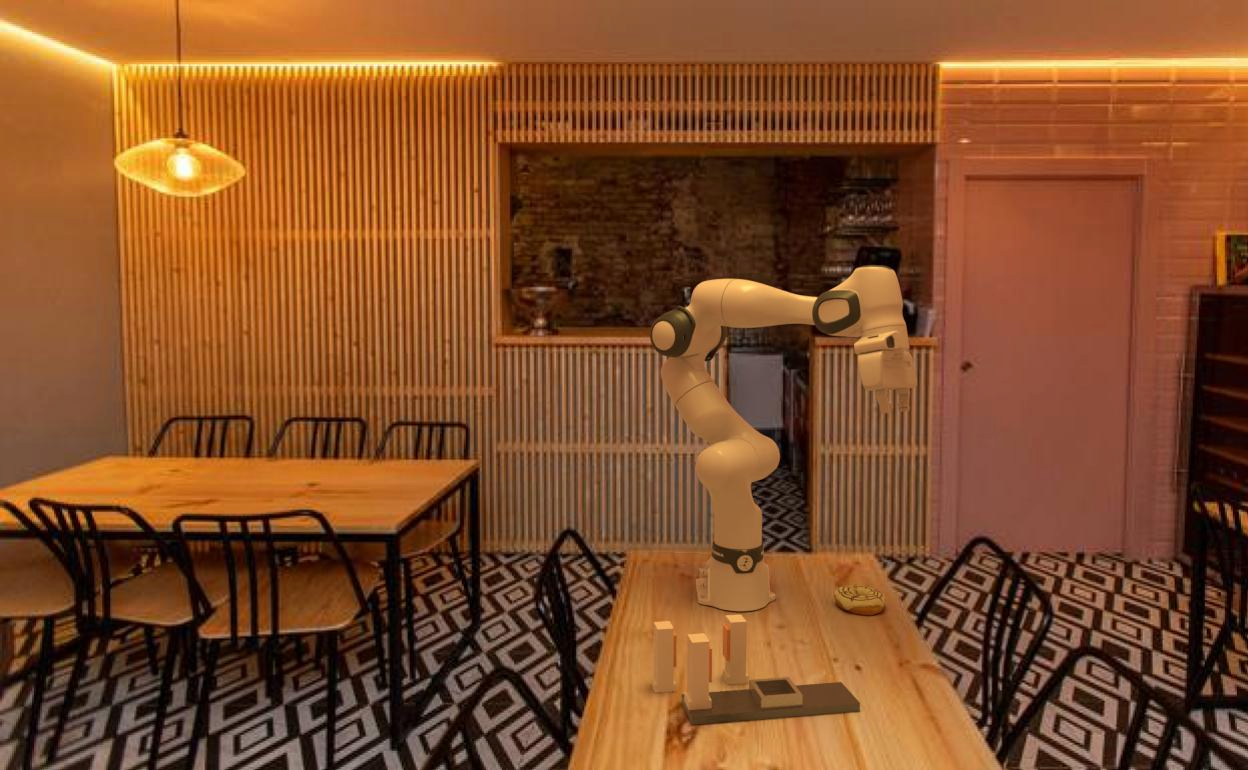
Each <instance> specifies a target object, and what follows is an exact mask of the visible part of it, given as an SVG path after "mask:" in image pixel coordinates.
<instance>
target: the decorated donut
mask: <svg viewBox="0 0 1248 770" xmlns="http://www.w3.org/2000/svg"><path fill="white" fill-rule="evenodd" d="M833 598H834V601H835V603H836V604H837V606H838V607H839V608H840V609H841V610H843V611H847V612H849V613H851V614H853V615H862V616H865V615H866V616H873V615H876V614H879V613H881V612H882V611H883V610H884V607H885V603H886V596H885V594H884V592H882V591H880V590H879V589H878V588H874V587H871V586H869V585H863V584H848V585H841V586H839V587H837V588H836V589H835V590H834V592H833Z"/></svg>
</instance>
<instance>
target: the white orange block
mask: <svg viewBox="0 0 1248 770" xmlns="http://www.w3.org/2000/svg"><path fill="white" fill-rule="evenodd" d="M677 637H678V636H677V633H676V632H675V629H674V626H673V624H672V623H671V620H670V621H669V620H665V621H663V620H662V621H653V676H652V675H651V676H650V684H651V685H650V686H651V687H652V690H653V693H654V692H655V693H654V694H659V693H660V692H661V693H673V692H674V693H675V692H677V682H676V681H675V677H674V674H675V673H674V668H676V667H677V643H678V641H677V639H678V638H677ZM672 691H673V692H672Z"/></svg>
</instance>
